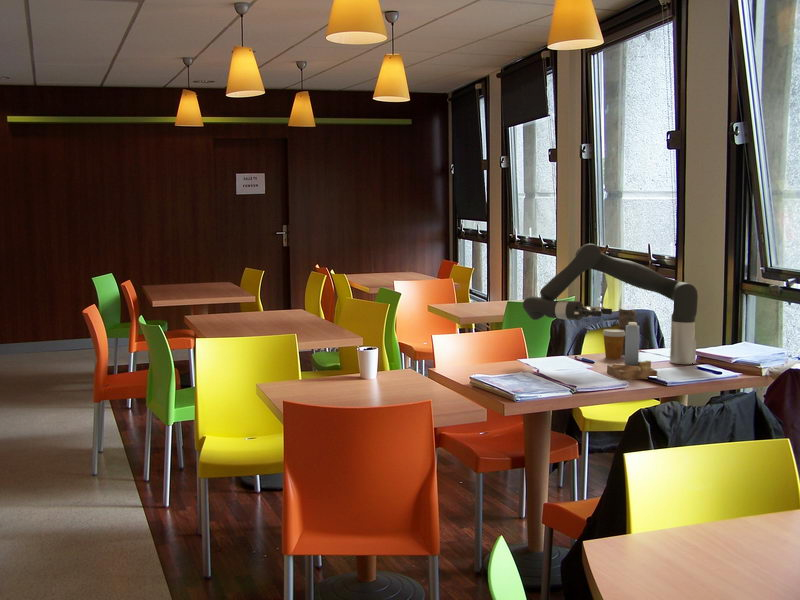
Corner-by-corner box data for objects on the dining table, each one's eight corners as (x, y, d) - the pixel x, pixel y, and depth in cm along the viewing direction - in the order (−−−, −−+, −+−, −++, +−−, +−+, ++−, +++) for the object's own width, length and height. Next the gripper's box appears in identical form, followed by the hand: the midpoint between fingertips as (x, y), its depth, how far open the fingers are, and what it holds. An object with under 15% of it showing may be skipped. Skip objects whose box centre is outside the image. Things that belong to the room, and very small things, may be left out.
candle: (614, 353, 369) (615, 308, 367) (627, 352, 372) (629, 307, 370) (625, 355, 362) (626, 310, 360) (638, 354, 365) (640, 309, 363)
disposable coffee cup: (622, 356, 360) (623, 329, 359) (626, 360, 351) (627, 332, 350) (600, 356, 361) (601, 328, 360) (603, 359, 352) (604, 331, 351)
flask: (635, 366, 319) (636, 321, 317) (640, 368, 314) (641, 323, 312) (622, 366, 318) (623, 322, 317) (627, 369, 313) (628, 323, 312)
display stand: (642, 371, 325) (643, 356, 324) (659, 379, 310) (660, 363, 309) (604, 372, 323) (605, 357, 322) (619, 379, 308) (620, 363, 307)
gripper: (560, 302, 326) (597, 304, 316) (578, 299, 337) (615, 301, 326) (560, 321, 327) (597, 324, 316) (578, 317, 338) (615, 320, 327)
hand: (606, 312), depth 321 cm, fingers open, 8 cm apart
